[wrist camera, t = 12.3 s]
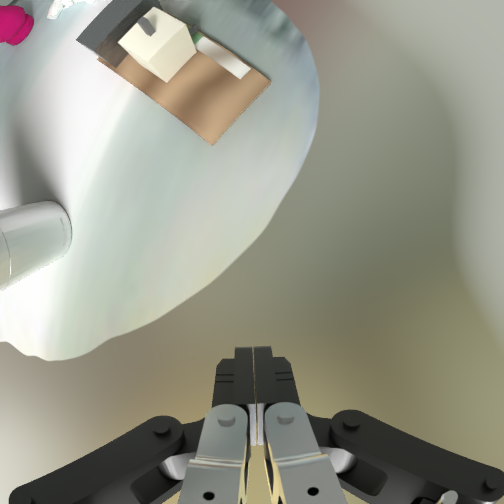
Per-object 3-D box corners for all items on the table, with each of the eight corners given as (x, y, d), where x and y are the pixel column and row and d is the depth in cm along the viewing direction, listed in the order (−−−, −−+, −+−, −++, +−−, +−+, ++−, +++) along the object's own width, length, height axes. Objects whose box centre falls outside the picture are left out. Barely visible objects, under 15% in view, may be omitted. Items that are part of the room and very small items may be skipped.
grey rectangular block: (166, 16, 29) (153, -9, 22) (116, 68, 30) (93, 51, 24) (147, 6, 28) (132, -18, 21) (99, 56, 30) (75, 39, 23)
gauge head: (211, 37, 30) (201, -7, 19) (166, 83, 31) (138, 51, 21) (184, 21, 29) (166, -23, 18) (140, 64, 30) (106, 32, 20)
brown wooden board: (270, 84, 33) (271, 81, 32) (212, 146, 35) (211, 144, 34) (152, 7, 29) (149, 3, 28) (100, 61, 31) (96, 59, 30)
